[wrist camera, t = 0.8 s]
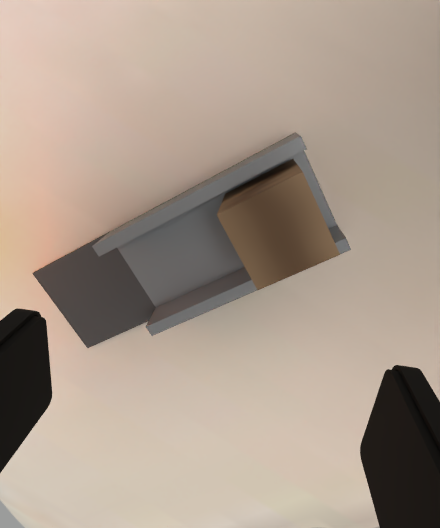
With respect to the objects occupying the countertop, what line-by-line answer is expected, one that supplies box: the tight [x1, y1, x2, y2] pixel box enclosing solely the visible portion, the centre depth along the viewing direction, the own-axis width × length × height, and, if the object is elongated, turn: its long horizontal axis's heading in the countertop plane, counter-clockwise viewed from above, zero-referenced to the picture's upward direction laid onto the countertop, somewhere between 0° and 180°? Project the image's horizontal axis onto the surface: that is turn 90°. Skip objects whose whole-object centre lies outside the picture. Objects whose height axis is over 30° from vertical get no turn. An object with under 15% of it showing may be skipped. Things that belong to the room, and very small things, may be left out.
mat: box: [33, 232, 156, 348], centre depth 37 cm, size 9×9×1 cm
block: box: [217, 159, 340, 290], centre depth 28 cm, size 6×6×7 cm
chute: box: [92, 133, 351, 336], centre depth 32 cm, size 18×9×4 cm, turn 118°
